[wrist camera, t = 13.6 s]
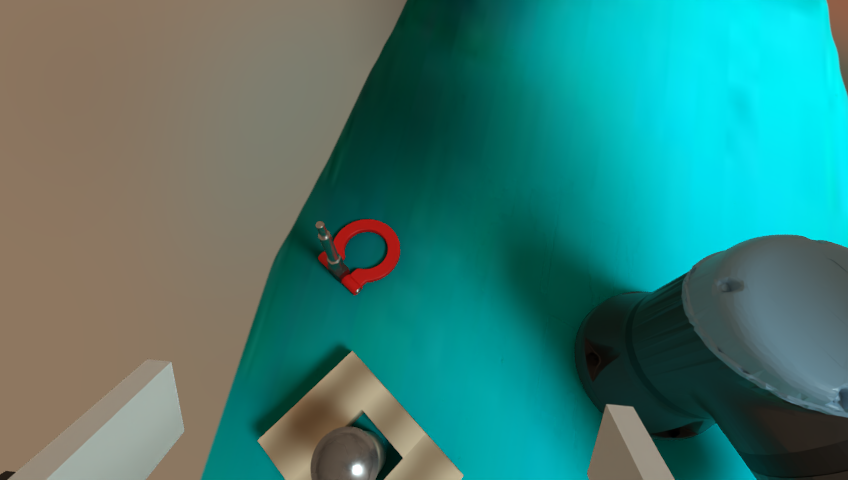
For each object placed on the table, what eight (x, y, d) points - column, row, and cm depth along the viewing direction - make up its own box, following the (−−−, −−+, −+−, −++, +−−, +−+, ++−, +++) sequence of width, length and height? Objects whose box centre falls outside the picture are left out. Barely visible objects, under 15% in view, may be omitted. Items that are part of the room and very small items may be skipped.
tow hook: (368, 211, 53) (313, 257, 50) (356, 148, 42) (284, 202, 38) (413, 252, 51) (359, 302, 48) (414, 196, 39) (342, 258, 36)
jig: (461, 472, 40) (463, 475, 37) (371, 578, 36) (366, 591, 34) (356, 355, 45) (352, 350, 42) (268, 439, 41) (257, 440, 39)
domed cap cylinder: (400, 455, 41) (392, 464, 31) (362, 497, 39) (339, 521, 29) (367, 415, 42) (348, 412, 32) (328, 454, 41) (296, 463, 31)
